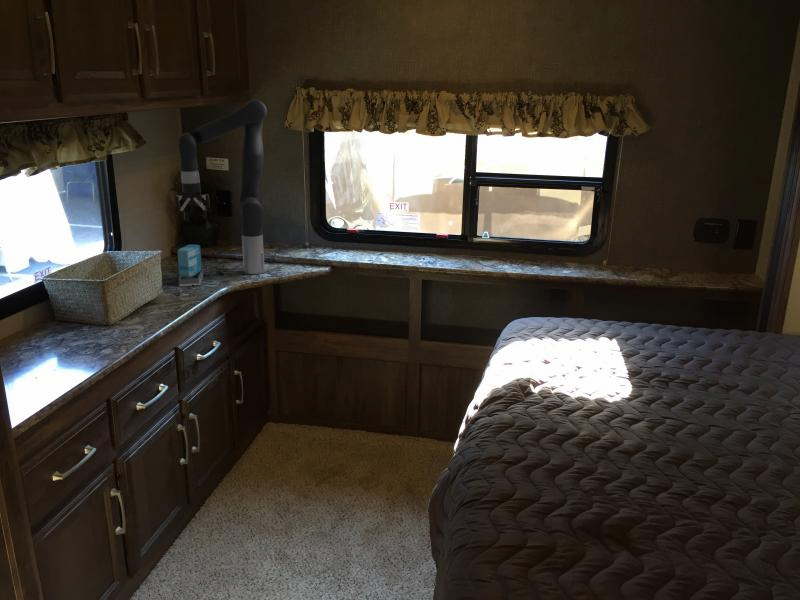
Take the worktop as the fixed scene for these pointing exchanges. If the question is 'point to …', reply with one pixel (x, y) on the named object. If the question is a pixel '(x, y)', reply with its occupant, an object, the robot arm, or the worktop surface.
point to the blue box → (189, 260)
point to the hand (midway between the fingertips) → (194, 218)
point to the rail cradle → (191, 279)
